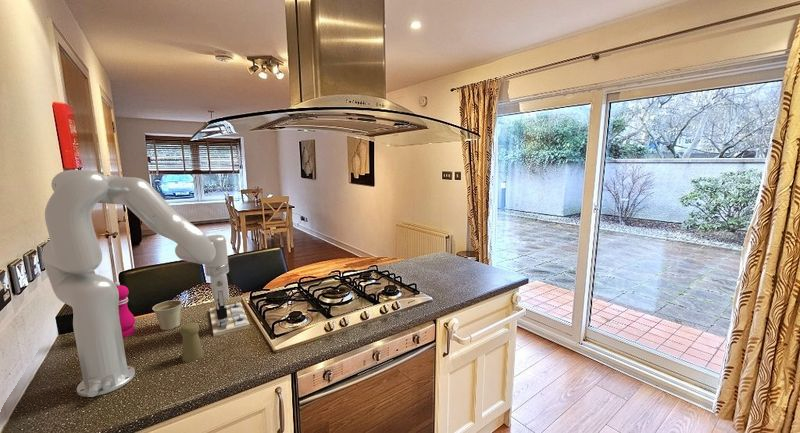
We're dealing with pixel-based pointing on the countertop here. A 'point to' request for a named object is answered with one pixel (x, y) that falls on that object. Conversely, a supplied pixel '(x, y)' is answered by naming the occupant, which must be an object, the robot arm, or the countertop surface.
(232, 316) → the sliding point
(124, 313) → the pepper mill
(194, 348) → the cork
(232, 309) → the gauge board
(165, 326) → the flower pot
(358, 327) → the countertop surface
